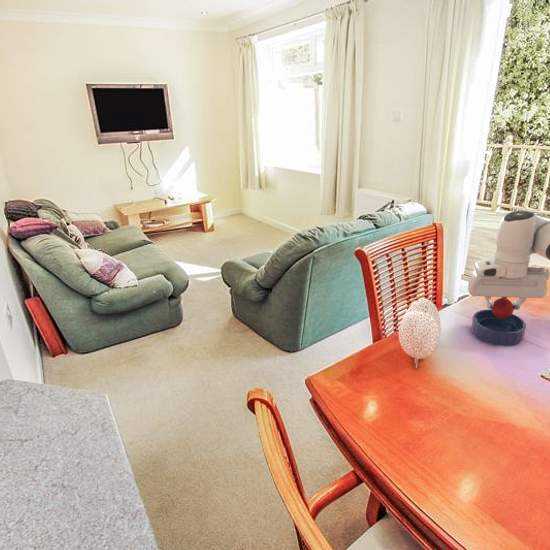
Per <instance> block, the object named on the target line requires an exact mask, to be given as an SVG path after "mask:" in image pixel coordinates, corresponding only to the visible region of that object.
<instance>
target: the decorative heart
mask: <svg viewBox="0 0 550 550" xmlns="http://www.w3.org/2000/svg"><path fill="white" fill-rule="evenodd" d="M402 317H403V318H402V320H401V322H400V324H399V327H398V340H399V344H400V346H401V348H402V350H403V351H404V353H405V354H407V356H409V357H411V358H413V359H414V364H415V369H417V368H418V360H421V359H425V358H427V357H429V356H430V355H432V353H433V352H434V351H435V350H436V348H437V346H438V344H439V340H440V335H441V318H440V313H439V310H438V308H437V306H436V304H434V302H432V300H429V299H427V298H420V299H417V300H416V301H414V302H413V303H412V304H411V305H410V306H409V307H408V308H407V310H406V311H405V313H404V315H403V316H402Z"/></svg>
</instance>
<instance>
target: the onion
mask: <svg viewBox="0 0 550 550" xmlns="http://www.w3.org/2000/svg"><path fill="white" fill-rule="evenodd" d="M493 303H494V306H493V307H494V308H493V309H492V312H493V314H494V315H495V316H496V317H498V318H499V319H504V318H507V317H509V316H511V315H512V314H514V307H513V302H512V301H511V300H509V299H508V297H499V298H498V299H495V300H494V302H493Z"/></svg>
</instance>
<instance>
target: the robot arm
mask: <svg viewBox="0 0 550 550" xmlns="http://www.w3.org/2000/svg"><path fill="white" fill-rule="evenodd" d="M495 244H496V250H495V252H494V254H493V257H490V258H487V259H481V260H478V261H476V262H475V263H474V270H473V271H472V272H471V274H470V277H469V280H468V284H467V291H468V293H469V294H470V296H472V297H484V299H485V301H486V308H487V309H493V308H494V307H493V306H494V302H493V301H492V297H493V298H502V297H507V298H518V299H517V300H516V301H513V302H512V304H513V307H514V310H515V311H518V310H521V306H522V305H523V304H524V303H525V302H526V301H527V299H543V298H544V297H545V296H547V291H548V281H549V278H550V270H549V269H547V268H546V267H543V266H539V267H538V266H537V267H536V266H529V265H530V260H531V255H533V254H536V255H539V256H541V257H543V258H546V259H547V260H548V261H550V219H548V218H543V217H541V216H539V215H537V214H536V213H534V212H533V211H531V210H525V209H523V210H514V211H510V212H508V213H506V214H505V215H504V216H503V217H502V218H501V220H500V222H499V226H498V231H497V234H496V241H495Z"/></svg>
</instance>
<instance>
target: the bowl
mask: <svg viewBox="0 0 550 550" xmlns="http://www.w3.org/2000/svg"><path fill="white" fill-rule="evenodd" d="M471 321H472V322H471V327H470V330H471V333H472V335H473V336H474V337H475V338H477V339H479V340H480V341H482V342H483V343H484V342H485V343H486V344H490V345H494V346H500V347H513V346H517V345H520V344H521V343H522V342H523V341H524V337H525V332H526V329H527V323H526V322H525V321H524V319H523V318H521V317H520V316H519V315H516V314H514V313H512V315H511V316H509V317H507V318H504V319H499V318H498V317H496V316H495V315H494V314H493V312H492V309H488V308H487V309H481V310H478V311H476V312H475V313H473V316H472V320H471Z"/></svg>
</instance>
